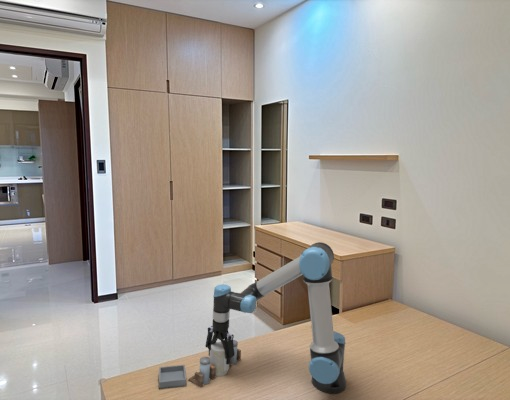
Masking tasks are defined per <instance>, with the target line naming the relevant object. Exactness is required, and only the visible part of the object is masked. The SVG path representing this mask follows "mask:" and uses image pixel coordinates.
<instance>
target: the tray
mask: <svg viewBox="0 0 510 400" xmlns="http://www.w3.org/2000/svg"><path fill="white" fill-rule="evenodd" d="M186 386H187V374H186V365H185V364H179V365H170V366H166V365H165V366H159V368H158V390H162V389H164V390H165V389H173V388H180V387H186Z"/></svg>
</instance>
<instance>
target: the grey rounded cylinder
mask: <svg viewBox="0 0 510 400" xmlns="http://www.w3.org/2000/svg"><path fill="white" fill-rule="evenodd" d="M199 372H200V374H202V375H203V385H208V384H209V383H210V378H209V377H210V356H202V357H200V358H199Z"/></svg>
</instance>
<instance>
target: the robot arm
mask: <svg viewBox="0 0 510 400" xmlns="http://www.w3.org/2000/svg"><path fill="white" fill-rule="evenodd" d="M334 253H335V252H334V250H333V249H332V247H331V246H330V245H329V244H327V243H325V242H320V241H319V242H315V243H313V244H311V245H310V246H308V248H306V249H305V250H304V251H302V252H301V253H300V254H299V255H300V256H298V257H296V258H294V259H293V260H292V261H290V262H288V263H286V264H285V265H282V266H281V267H279V268H278V269H276V270H275V271H272V272H271V273H269V274H267V275H265V276H264V277H262V278H261V279H259V280H257V281H256V282H253V283H251V284H249V285H248V286H247V287H246V288H245V289H244V290H242V291H241V292H235V291H232V289H231V288H232V287H231V285H228V284H218V285H215V286H214V289H213V305H212V306H213V309H212V325H211V326H209V327H207V335H206V340H205V341H206V342H205V348H208V357H209V358H210V357H211V345H213V344H215V343H216V342H218V340H220V342H221V343H222V344H223V348H224V350H225V355H226V357H224V371H227V370H229V369H230V368H229V364H230V359H231V358H232V357H233V356H234V344H233V340H234V338H235V337H234V336H235V335H234V334H231V333H230V332H229V328H230V312H231V311H230V310H233V311H237V312H242V313H244V314H252V313H254V312H255V310H256V307H257V302H258V301H259V300H261V299H262V298H263V297H265V296H267V295H269V294H271V293H272V292H274V291H276V290H278V289H280V288H281V287H283V286H285V285H287V284H289V283H291V282H292V281H294V280H296V279H297V278H299V277H301V276H302V281H303V283H304V284H306V285H307V293H308V304H309V314H310V323H311V334H312V341H311V342H310V344H309V353H310V354H309V355H310V361H309V363H308V371H309V375H311V384H312V385H313V386H314V388H316V389H317V390H319V391H320V392H324V393H327V394H339V393H342V392H344V391H345V390H346V387H347V379H346V375H345V371H344V361H345V351H346V350H345V347H346V338H345V336H344V334H342V333H340V332H338V331H334V324H333V323H334V322H333V312H332V302H331V301H332V300H331V292H330V290H331V288H330V283H331V282H332V281H333V271H332V264H333V262H334V260H335V254H334Z"/></svg>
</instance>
